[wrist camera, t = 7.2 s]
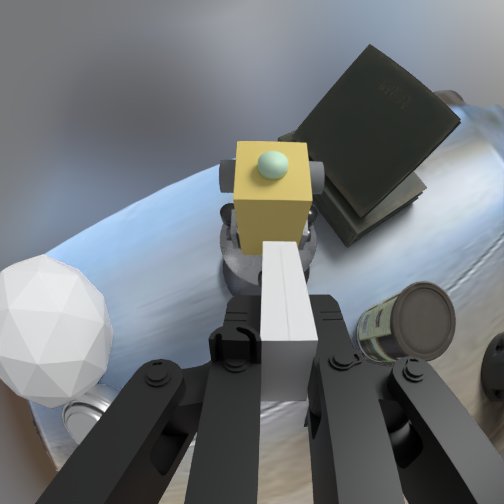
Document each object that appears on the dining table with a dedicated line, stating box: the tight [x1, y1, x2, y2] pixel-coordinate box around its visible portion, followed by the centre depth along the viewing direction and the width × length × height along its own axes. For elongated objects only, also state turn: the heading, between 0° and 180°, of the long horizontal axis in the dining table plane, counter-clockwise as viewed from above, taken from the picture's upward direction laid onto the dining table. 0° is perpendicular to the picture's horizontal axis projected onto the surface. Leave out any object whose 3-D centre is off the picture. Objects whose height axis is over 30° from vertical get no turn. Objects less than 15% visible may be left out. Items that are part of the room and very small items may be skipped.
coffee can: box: [357, 281, 456, 362], centre depth 37 cm, size 10×10×14 cm
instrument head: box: [219, 141, 325, 255], centre depth 28 cm, size 6×9×13 cm, turn 89°
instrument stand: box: [220, 203, 317, 296], centre depth 40 cm, size 14×14×17 cm
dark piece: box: [278, 44, 461, 248], centre depth 43 cm, size 23×20×25 cm
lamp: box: [0, 254, 120, 445], centre depth 34 cm, size 22×34×24 cm, turn 29°
